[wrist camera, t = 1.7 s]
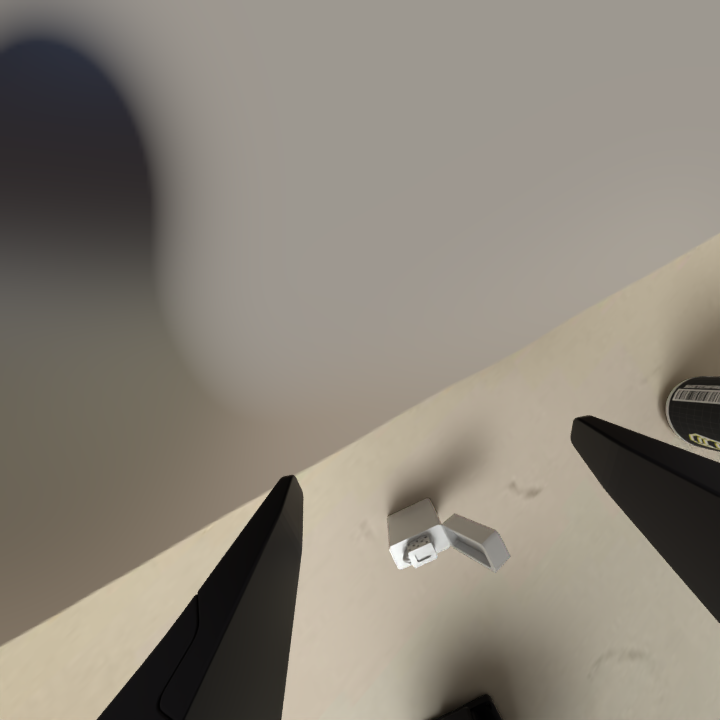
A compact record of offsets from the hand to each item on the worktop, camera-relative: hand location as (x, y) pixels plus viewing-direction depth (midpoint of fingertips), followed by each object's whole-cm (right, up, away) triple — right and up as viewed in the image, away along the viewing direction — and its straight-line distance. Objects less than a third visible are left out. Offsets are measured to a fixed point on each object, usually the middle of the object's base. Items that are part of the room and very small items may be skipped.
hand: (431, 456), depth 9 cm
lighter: (+4, -10, +15) cm, 18 cm away
